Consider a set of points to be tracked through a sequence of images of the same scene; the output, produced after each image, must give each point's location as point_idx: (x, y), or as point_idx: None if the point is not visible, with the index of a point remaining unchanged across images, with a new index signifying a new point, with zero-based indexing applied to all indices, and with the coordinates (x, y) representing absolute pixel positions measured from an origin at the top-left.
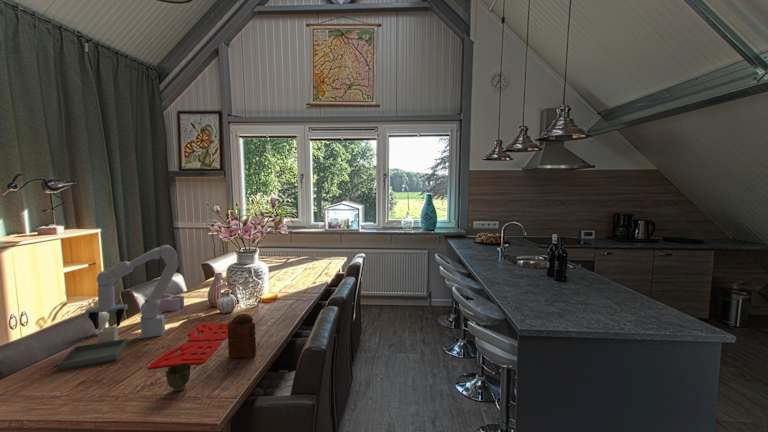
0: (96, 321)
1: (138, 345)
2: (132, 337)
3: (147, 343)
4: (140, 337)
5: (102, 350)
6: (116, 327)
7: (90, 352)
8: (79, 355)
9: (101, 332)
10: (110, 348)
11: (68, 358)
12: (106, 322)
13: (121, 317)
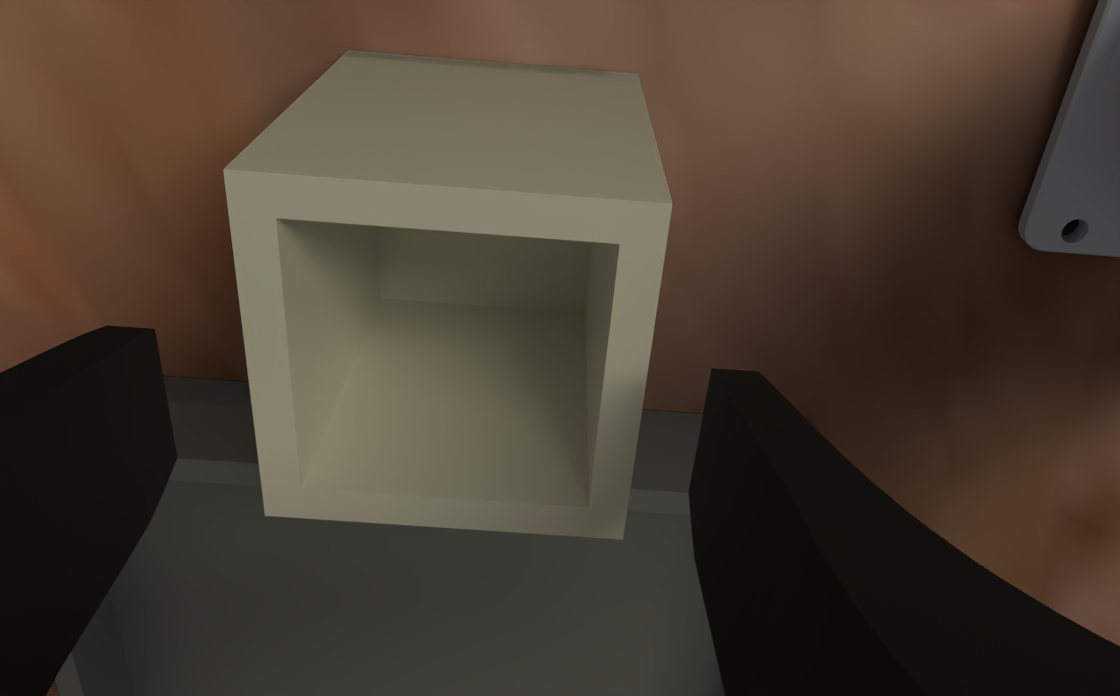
0: (25, 650)
1: (970, 517)
2: (911, 42)
3: (1103, 504)
4: (1061, 229)
5: (487, 568)
6: (652, 324)
7: (330, 561)
8: (211, 592)
9: (347, 511)
10: (589, 552)
11: (117, 660)
12: None
13: (896, 522)
